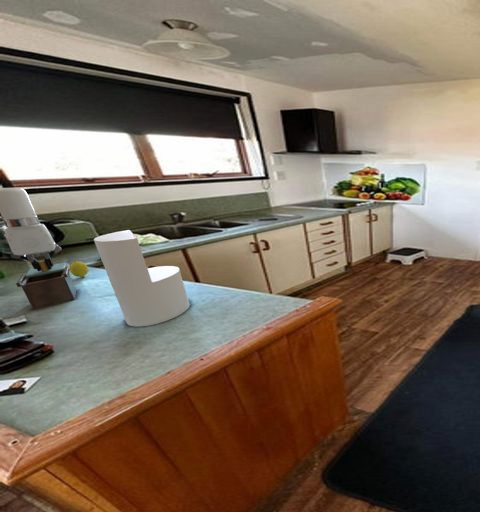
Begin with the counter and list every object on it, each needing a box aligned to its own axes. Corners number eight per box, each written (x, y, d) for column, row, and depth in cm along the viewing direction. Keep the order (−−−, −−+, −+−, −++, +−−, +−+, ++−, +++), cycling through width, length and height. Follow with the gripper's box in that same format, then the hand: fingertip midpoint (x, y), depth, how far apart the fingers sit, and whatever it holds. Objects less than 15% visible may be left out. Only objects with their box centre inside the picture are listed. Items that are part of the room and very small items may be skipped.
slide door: (26, 278, 100) (20, 266, 99) (30, 270, 108) (25, 259, 106) (64, 270, 107) (59, 259, 105) (66, 264, 114) (61, 253, 112)
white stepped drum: (130, 333, 82) (95, 245, 73) (123, 313, 93) (92, 235, 84) (195, 310, 94) (173, 232, 85) (183, 295, 105) (161, 225, 96)
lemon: (78, 280, 123) (70, 263, 120) (71, 279, 125) (64, 262, 122) (93, 275, 128) (87, 259, 125) (87, 274, 130) (80, 258, 127)
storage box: (30, 310, 97) (15, 283, 93) (34, 300, 105) (21, 274, 101) (77, 299, 105) (66, 273, 101) (79, 290, 113) (68, 266, 109)
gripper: (-17, 228, 91) (9, 278, 97) (55, 220, 101) (74, 266, 107) (-11, 225, 96) (14, 273, 102) (57, 218, 106) (75, 261, 112)
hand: (45, 269), depth 105 cm, fingers closed on slide door, 2 cm apart
